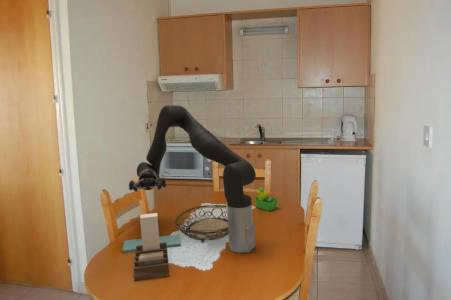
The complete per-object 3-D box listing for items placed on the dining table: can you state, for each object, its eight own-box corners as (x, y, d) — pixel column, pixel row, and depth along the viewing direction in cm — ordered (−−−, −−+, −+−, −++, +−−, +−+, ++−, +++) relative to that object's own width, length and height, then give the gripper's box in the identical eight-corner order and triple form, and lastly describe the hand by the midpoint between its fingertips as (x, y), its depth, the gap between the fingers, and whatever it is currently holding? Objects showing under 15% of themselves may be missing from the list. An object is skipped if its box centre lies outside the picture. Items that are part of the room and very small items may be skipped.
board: (124, 245, 152) (124, 240, 152) (179, 238, 156) (179, 234, 156) (122, 255, 142) (122, 250, 142) (181, 248, 146) (180, 243, 146)
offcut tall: (139, 274, 124) (138, 258, 123) (164, 271, 126) (163, 255, 125) (139, 277, 122) (138, 261, 121) (164, 274, 123) (163, 258, 123)
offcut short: (140, 263, 132) (139, 254, 132) (163, 260, 134) (162, 251, 133) (140, 266, 130) (139, 257, 129) (163, 263, 131) (163, 254, 131)
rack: (137, 258, 139) (136, 245, 138) (167, 254, 141) (166, 242, 140) (134, 283, 120) (133, 268, 120) (169, 278, 122) (168, 264, 122)
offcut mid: (140, 268, 128) (139, 256, 128) (164, 265, 130) (163, 253, 129) (140, 272, 126) (138, 259, 125) (164, 268, 127) (163, 256, 127)
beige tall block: (143, 256, 138) (140, 214, 136) (160, 254, 139) (157, 212, 137) (143, 261, 134) (139, 218, 132) (160, 259, 135) (157, 216, 133)
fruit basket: (279, 209, 189) (278, 187, 187) (266, 213, 184) (265, 190, 182) (264, 204, 198) (264, 183, 197) (251, 207, 194) (250, 186, 192)
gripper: (129, 171, 158) (127, 180, 142) (164, 169, 160) (165, 177, 145) (131, 189, 159) (129, 199, 143) (165, 186, 162) (166, 196, 146)
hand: (147, 188), depth 144 cm, fingers open, 8 cm apart
